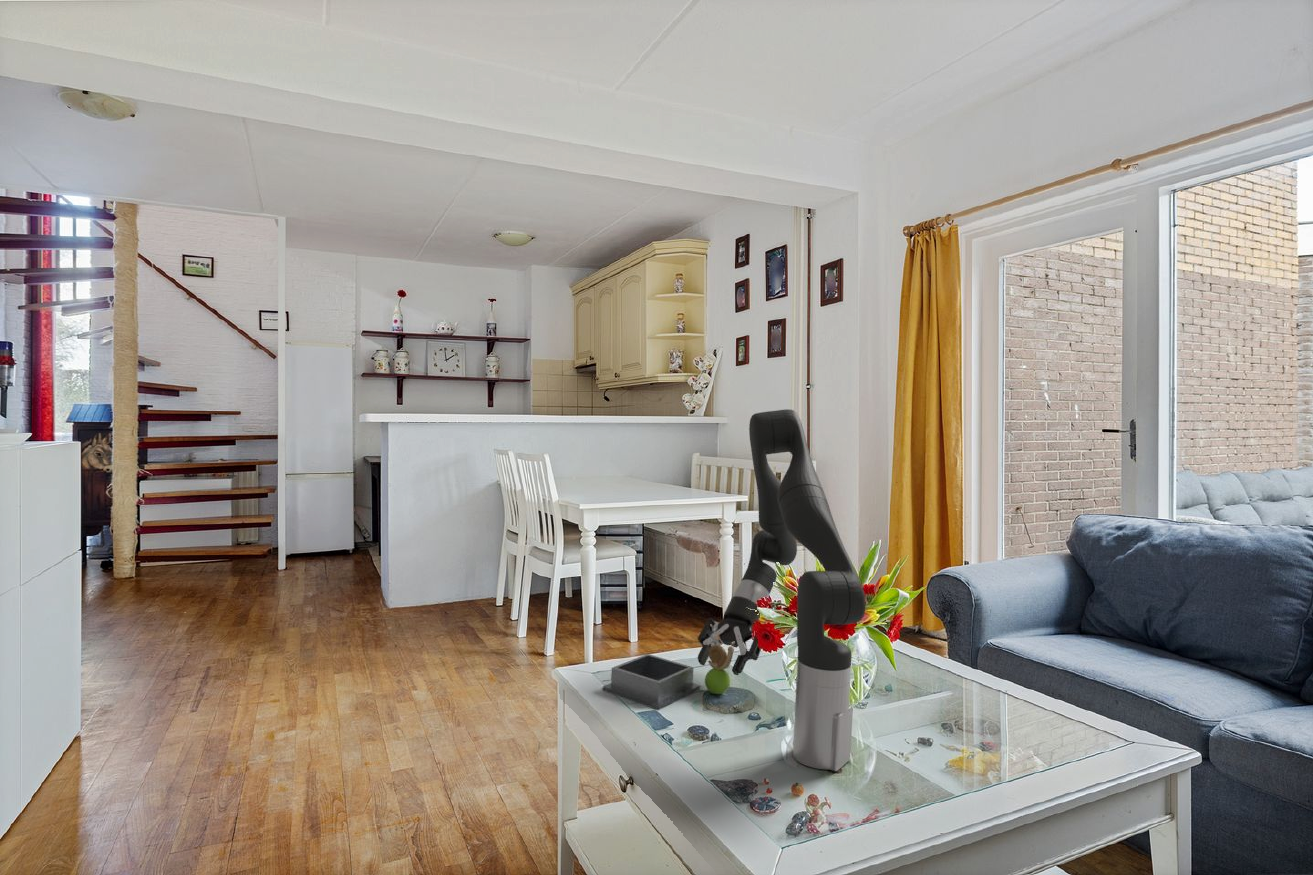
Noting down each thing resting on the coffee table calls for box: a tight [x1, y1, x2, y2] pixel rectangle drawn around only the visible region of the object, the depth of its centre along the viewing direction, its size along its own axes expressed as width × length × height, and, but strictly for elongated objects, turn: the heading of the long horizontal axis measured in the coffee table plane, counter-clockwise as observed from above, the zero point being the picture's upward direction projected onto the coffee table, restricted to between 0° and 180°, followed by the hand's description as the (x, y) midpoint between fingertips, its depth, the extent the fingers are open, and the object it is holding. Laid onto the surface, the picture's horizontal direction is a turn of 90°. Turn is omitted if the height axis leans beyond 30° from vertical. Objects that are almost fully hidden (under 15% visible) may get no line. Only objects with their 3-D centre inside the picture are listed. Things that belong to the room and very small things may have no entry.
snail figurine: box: [704, 641, 735, 695], centre depth 158 cm, size 5×6×12 cm
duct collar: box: [602, 653, 701, 710], centre depth 159 cm, size 15×15×5 cm
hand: (717, 668), depth 157 cm, fingers open, 8 cm apart
